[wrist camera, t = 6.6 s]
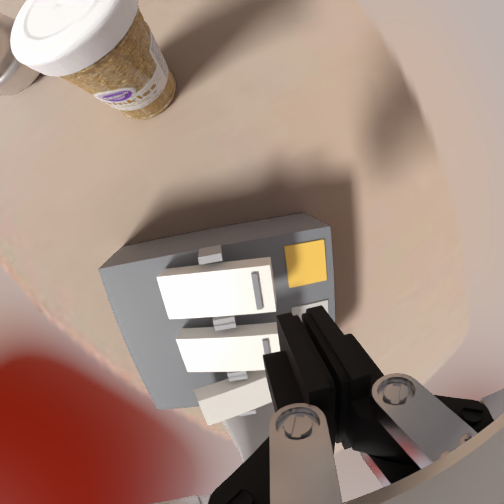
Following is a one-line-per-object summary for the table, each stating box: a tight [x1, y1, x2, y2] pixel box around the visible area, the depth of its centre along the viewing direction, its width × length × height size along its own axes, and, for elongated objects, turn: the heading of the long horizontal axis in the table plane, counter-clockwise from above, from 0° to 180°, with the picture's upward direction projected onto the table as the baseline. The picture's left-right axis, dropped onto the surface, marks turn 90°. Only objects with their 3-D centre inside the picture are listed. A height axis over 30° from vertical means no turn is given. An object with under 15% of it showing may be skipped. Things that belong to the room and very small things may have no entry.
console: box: [98, 213, 335, 416], centre depth 19 cm, size 12×14×7 cm
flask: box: [221, 402, 275, 462], centre depth 21 cm, size 7×7×10 cm
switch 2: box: [176, 322, 280, 372], centre depth 16 cm, size 3×6×1 cm, turn 99°
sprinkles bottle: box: [10, 0, 176, 120], centre depth 11 cm, size 5×5×14 cm
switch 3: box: [194, 370, 272, 426], centre depth 18 cm, size 3×6×1 cm, turn 99°
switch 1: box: [157, 257, 276, 319], centre depth 15 cm, size 3×6×1 cm, turn 99°
